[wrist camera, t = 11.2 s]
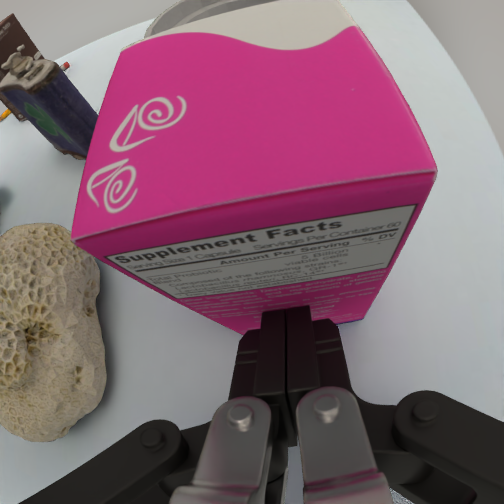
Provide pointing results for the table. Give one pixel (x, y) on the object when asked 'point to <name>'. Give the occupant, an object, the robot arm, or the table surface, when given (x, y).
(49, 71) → the flask
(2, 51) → the box
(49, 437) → the decorative item
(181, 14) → the bowl
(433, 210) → the table surface
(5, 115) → the pencil
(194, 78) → the supplement box
